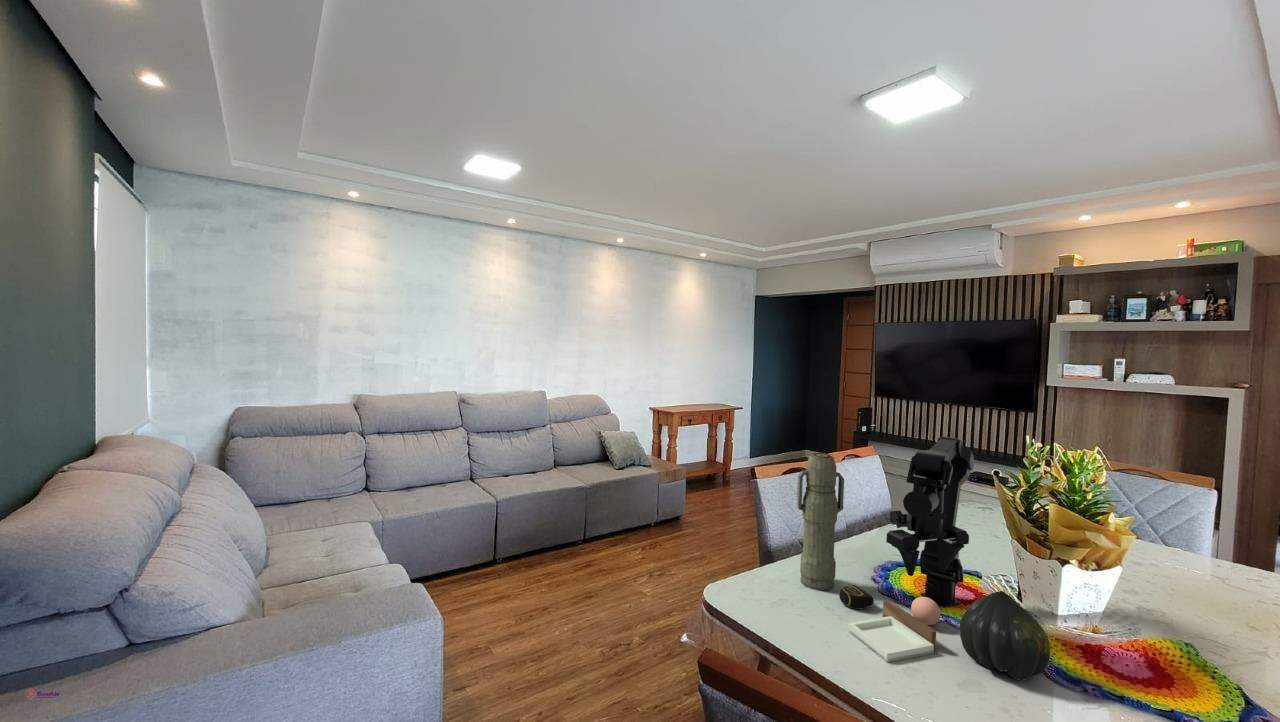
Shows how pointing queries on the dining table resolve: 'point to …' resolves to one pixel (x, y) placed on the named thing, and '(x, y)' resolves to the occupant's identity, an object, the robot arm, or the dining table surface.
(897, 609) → the divider rail
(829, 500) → the thermos
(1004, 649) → the squash
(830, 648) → the dining table surface
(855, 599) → the tape measure
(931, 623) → the ball
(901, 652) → the dish
